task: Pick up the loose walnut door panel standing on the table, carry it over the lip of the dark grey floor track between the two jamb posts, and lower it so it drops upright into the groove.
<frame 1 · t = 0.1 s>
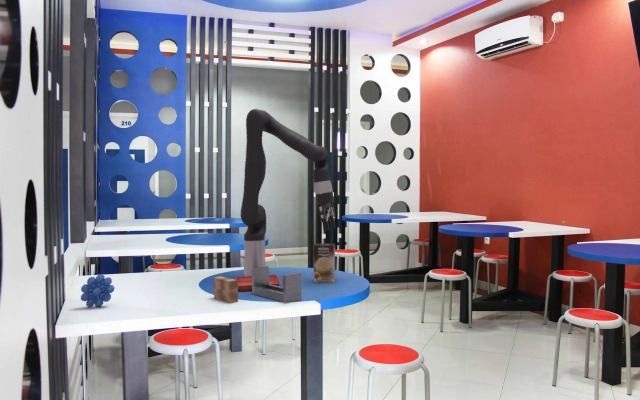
hand: (329, 229, 229), 22 cm above the table, tool pointing down, fingers open, 8 cm apart
floor track: (276, 296, 204), on the table
door panel: (225, 300, 201), on the table
coffee box: (324, 281, 232), on the table
blue knobby flower: (98, 307, 195), on the table
plant saucer: (257, 287, 224), on the table
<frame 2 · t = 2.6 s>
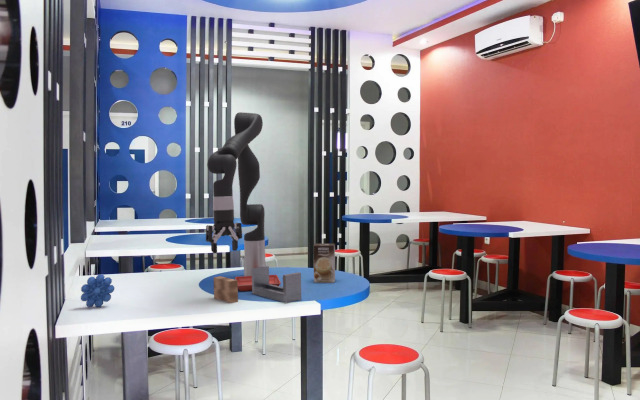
hand: (224, 251, 200), 18 cm above the table, tool pointing down, fingers open, 8 cm apart
nothing on the table moved.
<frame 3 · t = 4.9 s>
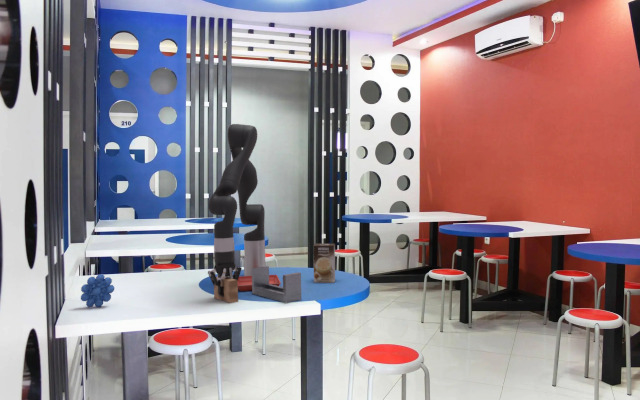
hand: (225, 295, 201), 2 cm above the table, tool pointing down, fingers closed on door panel, 3 cm apart
door panel: (226, 299, 201), on the table, touching gripper
everything else where it was.
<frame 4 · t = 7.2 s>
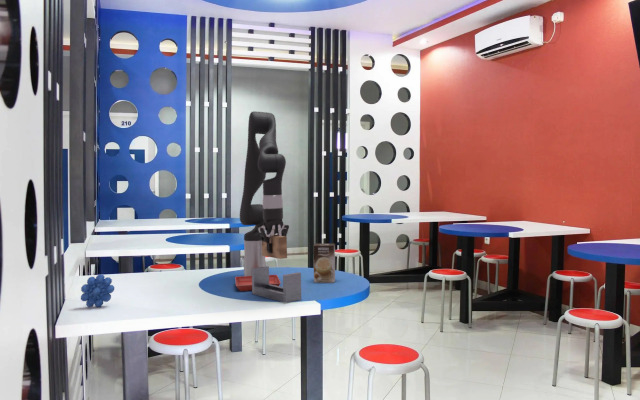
hand: (274, 252, 204), 17 cm above the table, tool pointing down, fingers closed on door panel, 3 cm apart
door panel: (274, 256, 204), point 15 cm above the table, touching gripper
everything else where it was.
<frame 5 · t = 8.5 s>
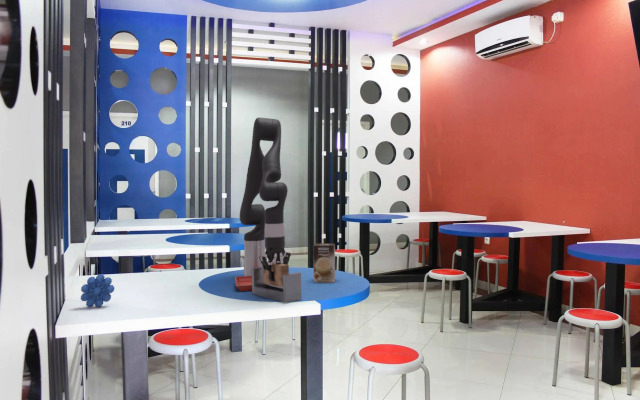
hand: (275, 280, 204), 6 cm above the table, tool pointing down, fingers closed on door panel, 3 cm apart
door panel: (276, 284, 204), point 5 cm above the table, touching gripper
everything else where it was.
when the fingers open (3 cm above the table, at t = 9.4 s): door panel drops 2 cm, resting in floor track.
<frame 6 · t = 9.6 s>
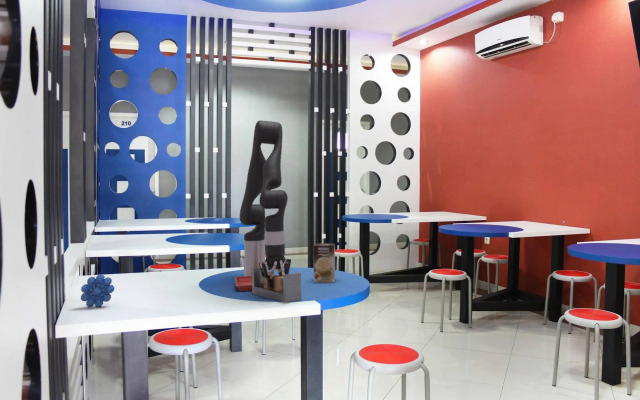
hand: (275, 287, 204), 4 cm above the table, tool pointing down, fingers open, 4 cm apart
door panel: (276, 296, 205), resting in floor track
everything else where it was.
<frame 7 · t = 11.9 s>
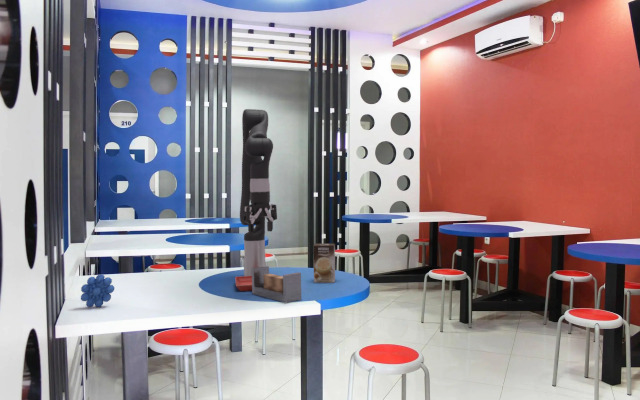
hand: (260, 232, 207), 24 cm above the table, tool pointing down, fingers open, 8 cm apart
nothing on the table moved.
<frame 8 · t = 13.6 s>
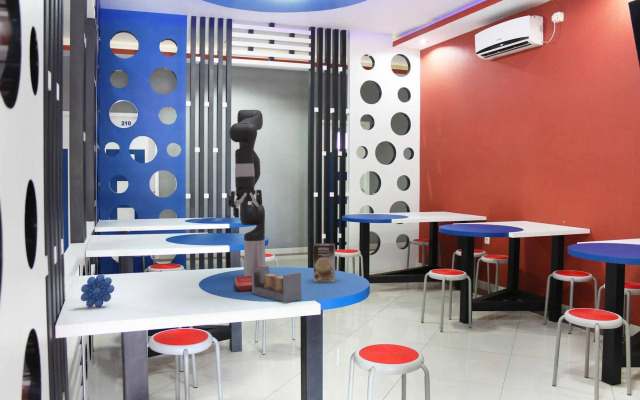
hand: (246, 217, 210), 30 cm above the table, tool pointing down, fingers open, 8 cm apart
nothing on the table moved.
at the end: door panel 0.1 cm off-centre on the floor track, point 0.0 cm above the floor track's base; door panel tilted 0°; the gripper is holding nothing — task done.
